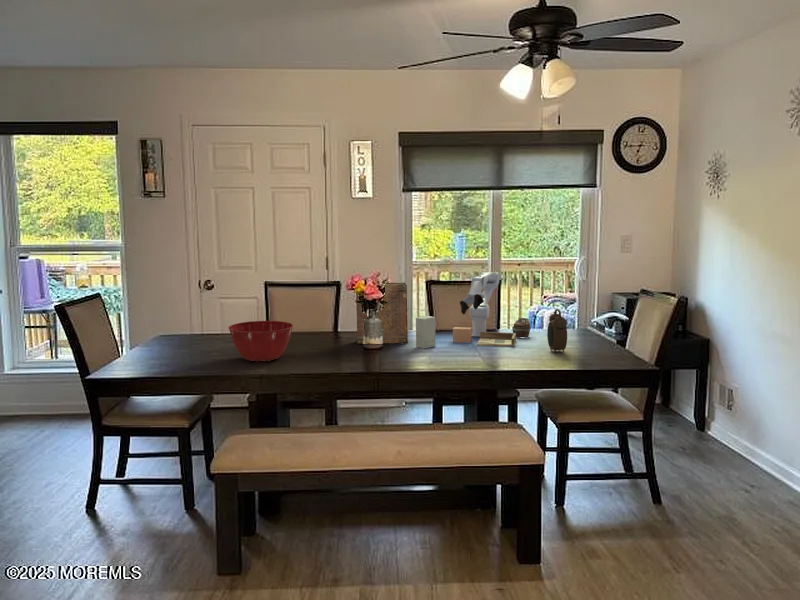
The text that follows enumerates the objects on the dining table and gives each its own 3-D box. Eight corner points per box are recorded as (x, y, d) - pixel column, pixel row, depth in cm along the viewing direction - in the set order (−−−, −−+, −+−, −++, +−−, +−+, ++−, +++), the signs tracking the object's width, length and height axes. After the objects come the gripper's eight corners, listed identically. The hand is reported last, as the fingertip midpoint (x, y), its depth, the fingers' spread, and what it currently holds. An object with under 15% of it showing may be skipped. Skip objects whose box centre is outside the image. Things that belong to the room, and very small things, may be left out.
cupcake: (516, 334, 345) (517, 316, 344) (533, 336, 340) (533, 317, 338) (508, 337, 338) (508, 318, 336) (525, 339, 332) (526, 319, 331)
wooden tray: (480, 339, 332) (480, 331, 331) (515, 340, 328) (516, 333, 327) (476, 345, 316) (476, 337, 316) (513, 346, 312) (514, 338, 312)
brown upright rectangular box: (406, 340, 332) (405, 282, 328) (407, 343, 323) (407, 284, 319) (357, 341, 330) (356, 283, 327) (357, 344, 321) (356, 285, 317)
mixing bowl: (306, 358, 291) (305, 324, 289) (252, 369, 271) (250, 333, 269) (271, 350, 310) (270, 318, 308) (217, 359, 290) (216, 326, 288)
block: (454, 340, 330) (454, 327, 329) (471, 341, 328) (471, 327, 327) (452, 342, 326) (452, 328, 325) (470, 342, 324) (470, 329, 323)
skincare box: (428, 344, 319) (427, 315, 317) (436, 346, 315) (436, 316, 313) (415, 347, 314) (415, 317, 312) (423, 349, 309) (423, 318, 307)
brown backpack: (544, 348, 307) (545, 307, 304) (560, 348, 307) (560, 307, 304) (552, 355, 292) (553, 311, 290) (568, 355, 293) (569, 311, 290)
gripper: (459, 292, 334) (452, 309, 324) (481, 282, 325) (475, 300, 316) (467, 302, 337) (461, 319, 327) (489, 292, 328) (483, 309, 318)
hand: (468, 310), depth 321 cm, fingers open, 7 cm apart
